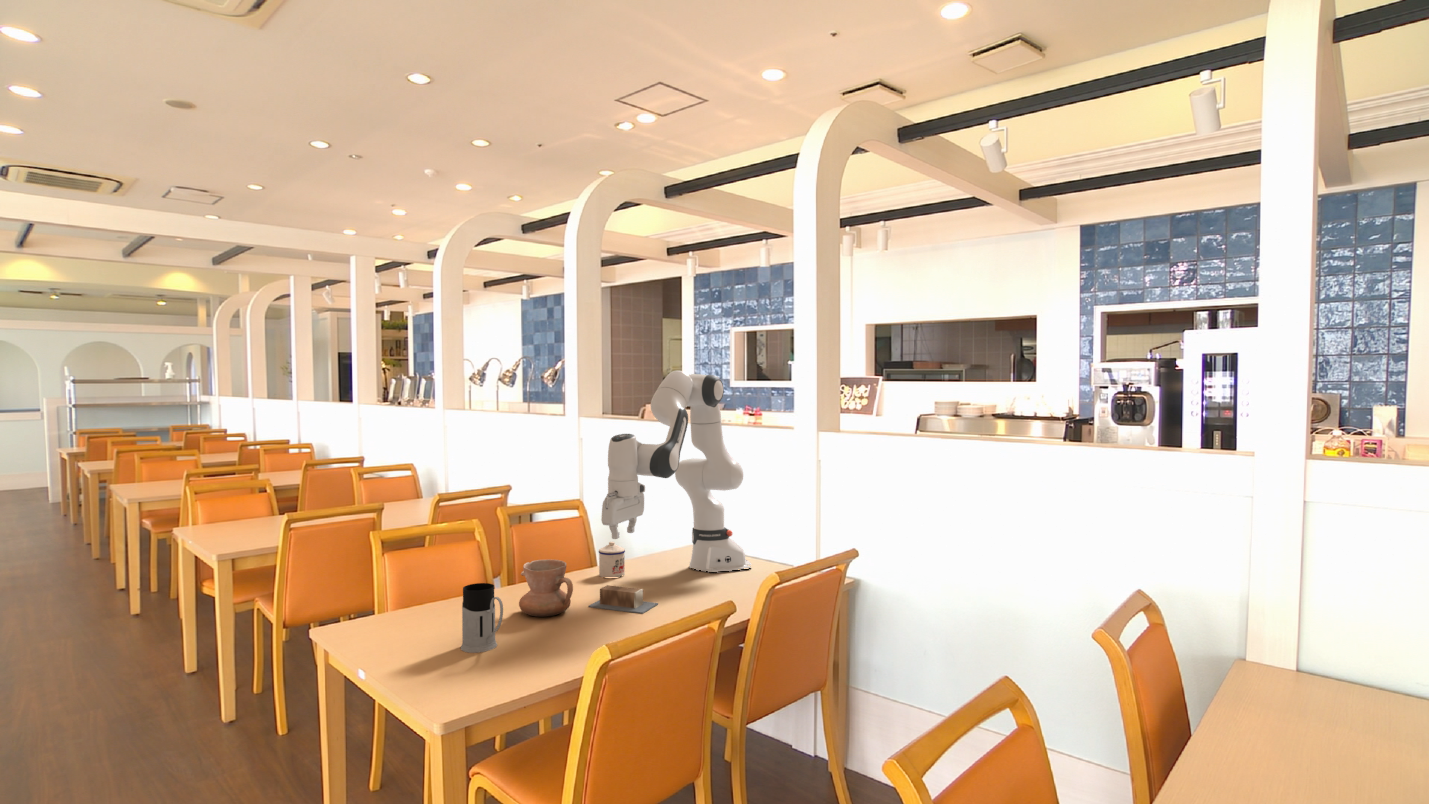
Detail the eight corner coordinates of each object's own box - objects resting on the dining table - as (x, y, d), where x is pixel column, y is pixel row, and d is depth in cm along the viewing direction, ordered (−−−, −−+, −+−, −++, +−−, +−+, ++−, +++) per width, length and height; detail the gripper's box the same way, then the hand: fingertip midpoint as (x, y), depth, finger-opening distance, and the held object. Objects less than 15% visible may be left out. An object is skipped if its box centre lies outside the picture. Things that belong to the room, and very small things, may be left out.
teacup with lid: (615, 580, 253) (615, 545, 253) (593, 577, 257) (593, 543, 257) (634, 572, 264) (634, 539, 264) (612, 569, 268) (612, 537, 268)
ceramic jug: (504, 615, 214) (504, 565, 214) (539, 601, 227) (539, 555, 227) (553, 626, 206) (554, 574, 205) (587, 611, 218) (587, 563, 218)
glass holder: (484, 638, 195) (483, 580, 194) (517, 650, 186) (517, 589, 185) (453, 647, 188) (453, 587, 188) (486, 660, 179) (486, 597, 179)
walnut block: (599, 588, 224) (635, 592, 220) (607, 585, 228) (642, 589, 224) (599, 603, 224) (635, 608, 220) (607, 600, 228) (642, 604, 224)
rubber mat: (588, 607, 222) (588, 605, 222) (605, 598, 231) (605, 597, 231) (643, 613, 216) (643, 612, 216) (658, 604, 225) (658, 603, 225)
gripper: (615, 494, 212) (615, 543, 213) (647, 485, 231) (648, 530, 232) (595, 493, 215) (596, 541, 215) (629, 484, 234) (629, 528, 234)
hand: (623, 535), depth 223 cm, fingers open, 8 cm apart
